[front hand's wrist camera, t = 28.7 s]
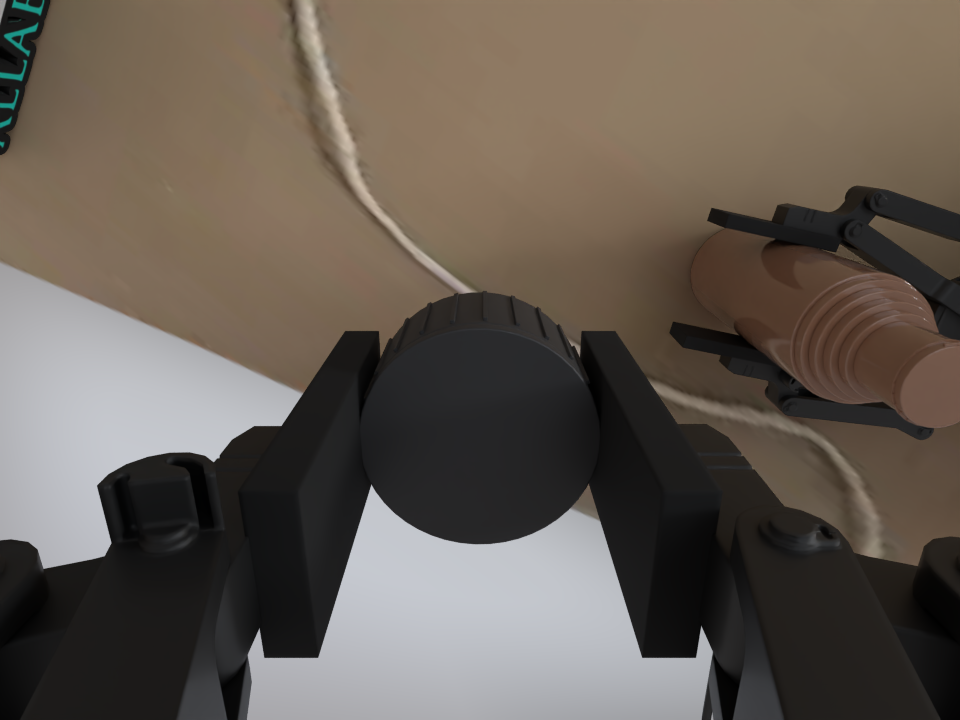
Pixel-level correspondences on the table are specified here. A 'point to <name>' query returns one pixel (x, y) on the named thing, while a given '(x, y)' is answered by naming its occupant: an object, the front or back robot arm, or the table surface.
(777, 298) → the bottle
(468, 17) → the table surface
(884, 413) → the back robot arm
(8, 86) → the decorative sign
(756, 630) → the front robot arm
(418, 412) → the cap
